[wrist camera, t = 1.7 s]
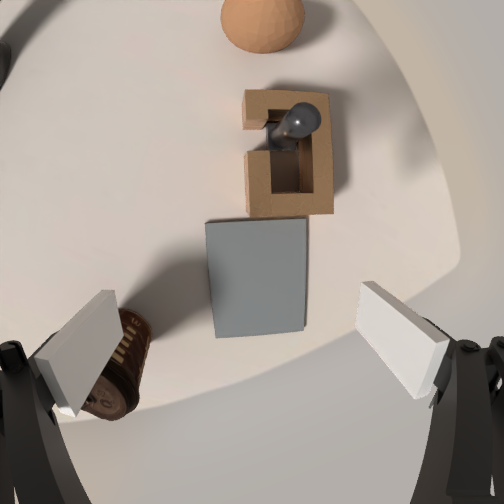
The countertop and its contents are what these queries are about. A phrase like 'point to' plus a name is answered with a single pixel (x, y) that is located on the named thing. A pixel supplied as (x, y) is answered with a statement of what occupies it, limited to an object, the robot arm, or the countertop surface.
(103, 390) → the coffee cup
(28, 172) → the countertop surface
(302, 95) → the c link
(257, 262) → the mat
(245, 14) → the egg
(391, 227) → the countertop surface
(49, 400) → the robot arm
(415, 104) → the countertop surface
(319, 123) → the post stand
